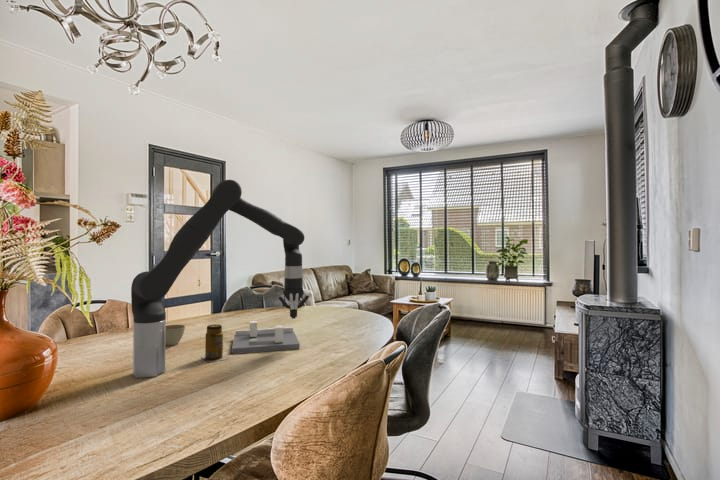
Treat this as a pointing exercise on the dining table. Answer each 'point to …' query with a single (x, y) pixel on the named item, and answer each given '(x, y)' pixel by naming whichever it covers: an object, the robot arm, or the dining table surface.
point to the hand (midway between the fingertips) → (293, 318)
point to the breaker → (253, 328)
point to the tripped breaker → (278, 334)
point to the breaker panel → (264, 341)
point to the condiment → (214, 344)
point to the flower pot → (174, 334)
